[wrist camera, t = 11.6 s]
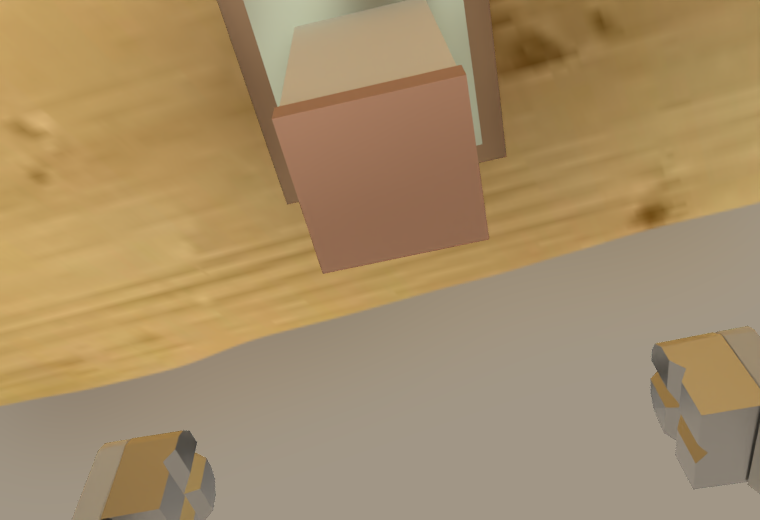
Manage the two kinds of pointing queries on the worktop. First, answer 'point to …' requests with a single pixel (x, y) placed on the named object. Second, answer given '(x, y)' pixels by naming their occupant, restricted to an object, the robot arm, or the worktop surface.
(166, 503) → the robot arm
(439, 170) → the two-tone lidded box
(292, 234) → the worktop surface
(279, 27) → the base
